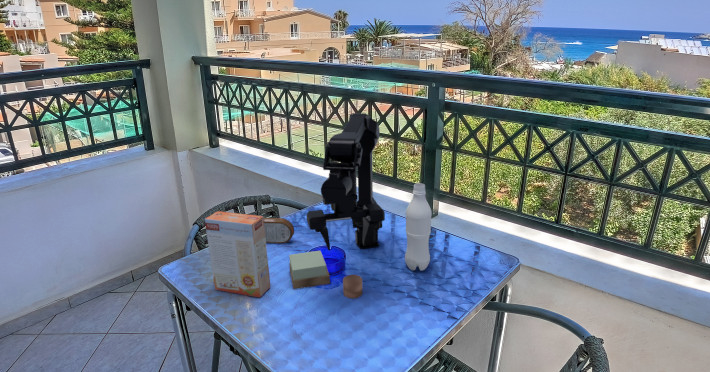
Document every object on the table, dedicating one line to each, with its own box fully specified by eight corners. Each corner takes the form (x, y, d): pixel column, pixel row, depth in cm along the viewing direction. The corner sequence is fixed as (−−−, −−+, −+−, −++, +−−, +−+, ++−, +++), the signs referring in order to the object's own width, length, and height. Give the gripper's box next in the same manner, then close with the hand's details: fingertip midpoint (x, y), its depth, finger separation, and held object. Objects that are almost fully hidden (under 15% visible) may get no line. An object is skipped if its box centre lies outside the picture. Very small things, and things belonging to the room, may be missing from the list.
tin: (295, 240, 139) (293, 217, 136) (293, 245, 136) (291, 221, 133) (251, 239, 141) (248, 216, 138) (248, 243, 138) (245, 220, 135)
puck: (359, 286, 112) (359, 273, 111) (364, 296, 107) (364, 283, 106) (341, 289, 111) (341, 276, 110) (345, 299, 106) (345, 286, 105)
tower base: (324, 267, 123) (323, 258, 122) (330, 285, 114) (329, 275, 113) (289, 272, 121) (289, 263, 120) (293, 291, 112) (292, 281, 111)
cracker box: (271, 286, 113) (264, 215, 106) (259, 299, 108) (251, 224, 101) (227, 278, 117) (218, 209, 111) (214, 290, 112) (203, 218, 105)
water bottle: (434, 266, 121) (438, 184, 113) (420, 275, 116) (423, 191, 108) (414, 258, 126) (416, 179, 118) (399, 267, 121) (400, 185, 113)
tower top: (321, 259, 121) (320, 250, 120) (326, 275, 113) (326, 265, 112) (289, 264, 119) (289, 254, 118) (293, 280, 111) (292, 270, 110)
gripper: (372, 175, 111) (372, 229, 116) (301, 182, 106) (305, 238, 111) (385, 188, 100) (385, 247, 105) (308, 197, 96) (312, 258, 101)
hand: (346, 247), depth 106 cm, fingers open, 9 cm apart
